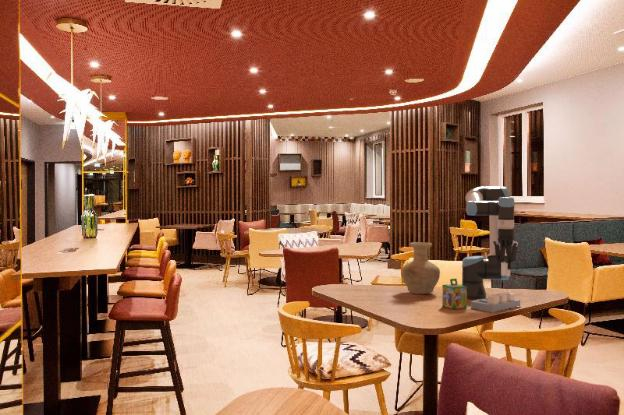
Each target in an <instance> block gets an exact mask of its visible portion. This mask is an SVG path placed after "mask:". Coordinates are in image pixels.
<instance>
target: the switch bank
mask: <svg viewBox="0 0 624 415" xmlns="http://www.w3.org/2000/svg"><path fill="white" fill-rule="evenodd" d="M517 306H520V307H521V299H517V298H515V301H507V302H504V303H500V302H499V304H495V305H494V304H488V297H486V298H485V299H474V300H471V301H470V309H473V310H479V311H482V312H488V313H496V312H497V311H498V312H501V310H502V311H506V310H505V309H507V310H510V309H509V308H512V309H514V308H513V307H516V308H518V307H517ZM498 312H497V313H498Z"/></svg>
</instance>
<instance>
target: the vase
mask: <svg viewBox="0 0 624 415" xmlns="http://www.w3.org/2000/svg"><path fill="white" fill-rule="evenodd" d="M409 246H410V247H411V248H413V260H412V261H409V262H408V263H406V264H405V265H403V266H402V268H401V278H402V280H403V282H404V284H405V286H406V288H407V291H408V292H409V293H411V294H414V295H415V294H416V295H427V294H433V292H434V289H435V287H436V286H437V284H438V283H439V280H440V276H441V270H440V268H439V267H438V266H437V265H436V264H435V263H433V262H430V261H429V259H428V257H429V256H428V249H430V248H432V246H433V244H432V243H431V242H422V241H421V242H420V241H419V242H418V241H417V242H414V241H413V242H410V243H409Z"/></svg>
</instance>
